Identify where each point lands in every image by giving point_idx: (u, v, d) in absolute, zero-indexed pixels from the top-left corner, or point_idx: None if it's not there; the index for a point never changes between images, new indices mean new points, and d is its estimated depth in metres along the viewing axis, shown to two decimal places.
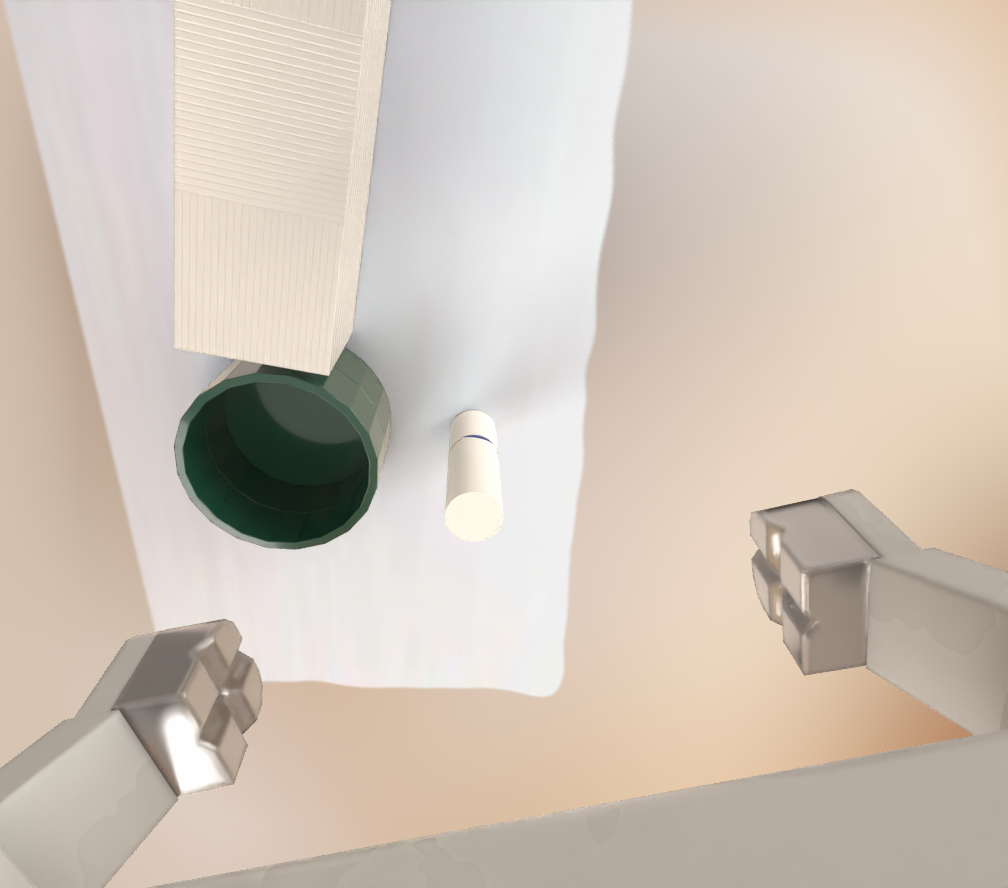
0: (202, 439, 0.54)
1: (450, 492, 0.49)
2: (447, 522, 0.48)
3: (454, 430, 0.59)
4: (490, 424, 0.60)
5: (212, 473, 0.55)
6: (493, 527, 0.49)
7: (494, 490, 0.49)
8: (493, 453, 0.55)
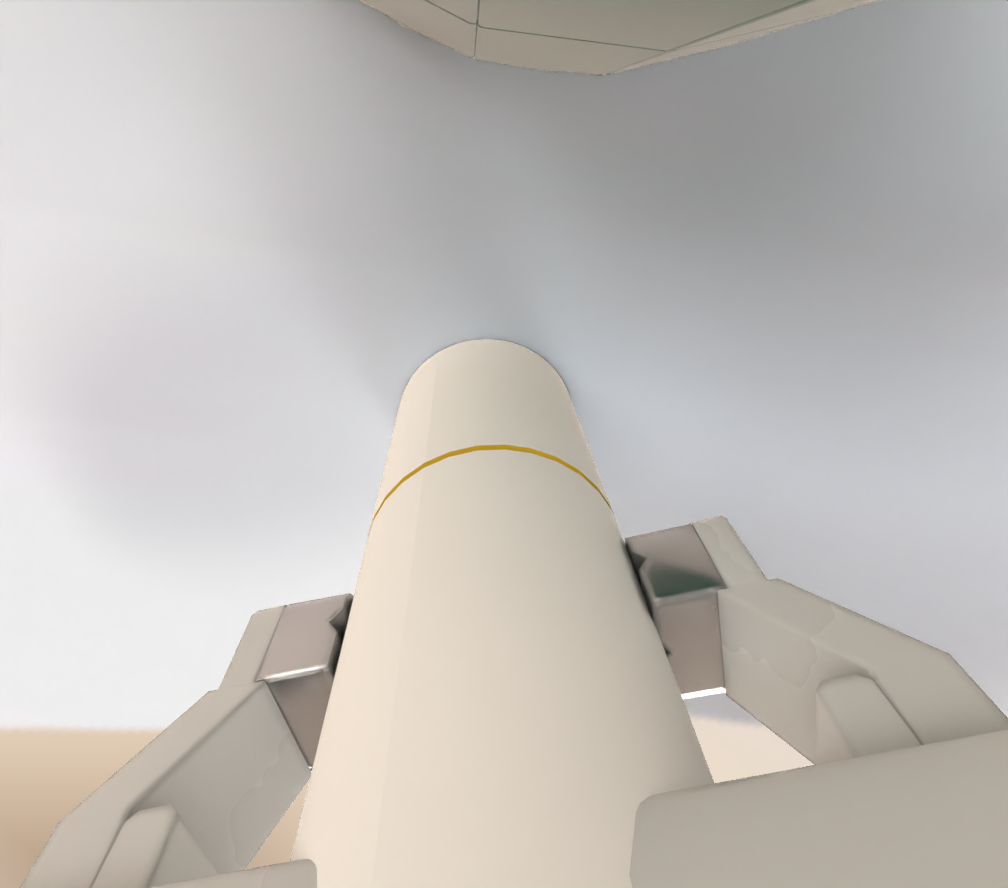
0: None
1: None
2: None
3: (557, 402, 0.13)
4: None
5: None
6: None
7: None
8: None
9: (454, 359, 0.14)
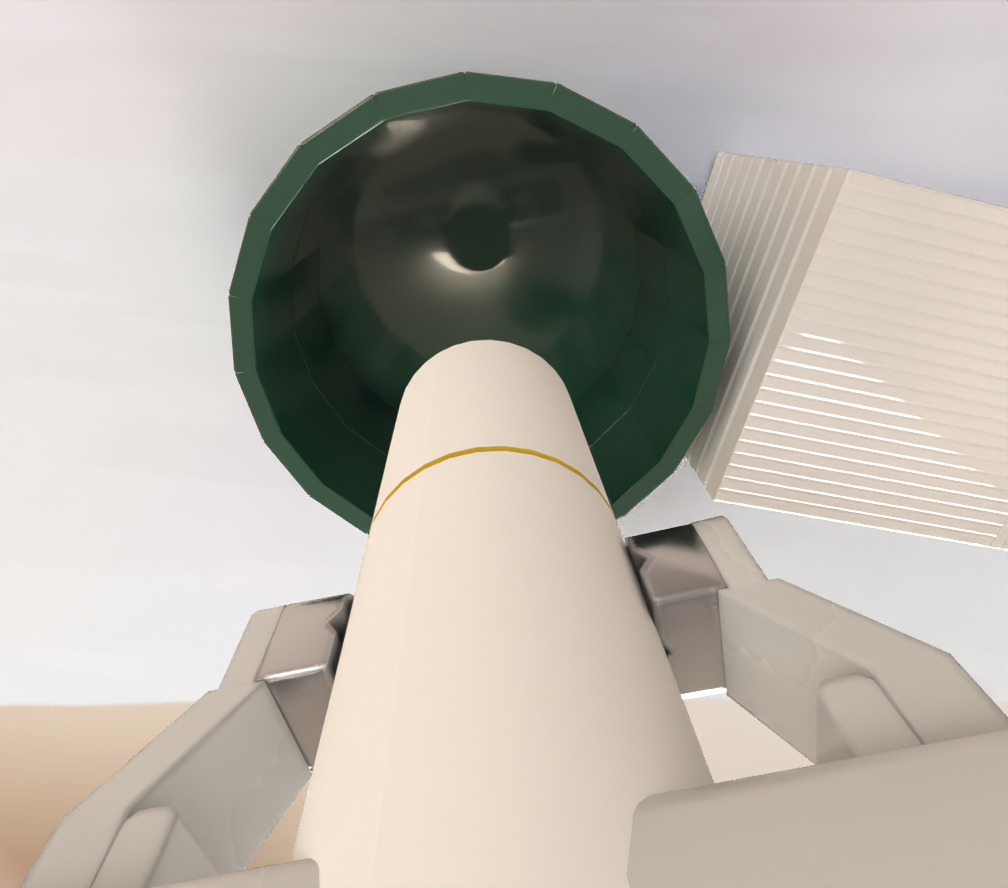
0: None
1: None
2: None
3: (557, 403, 0.13)
4: None
5: (405, 119, 0.21)
6: None
7: None
8: None
9: (454, 360, 0.14)
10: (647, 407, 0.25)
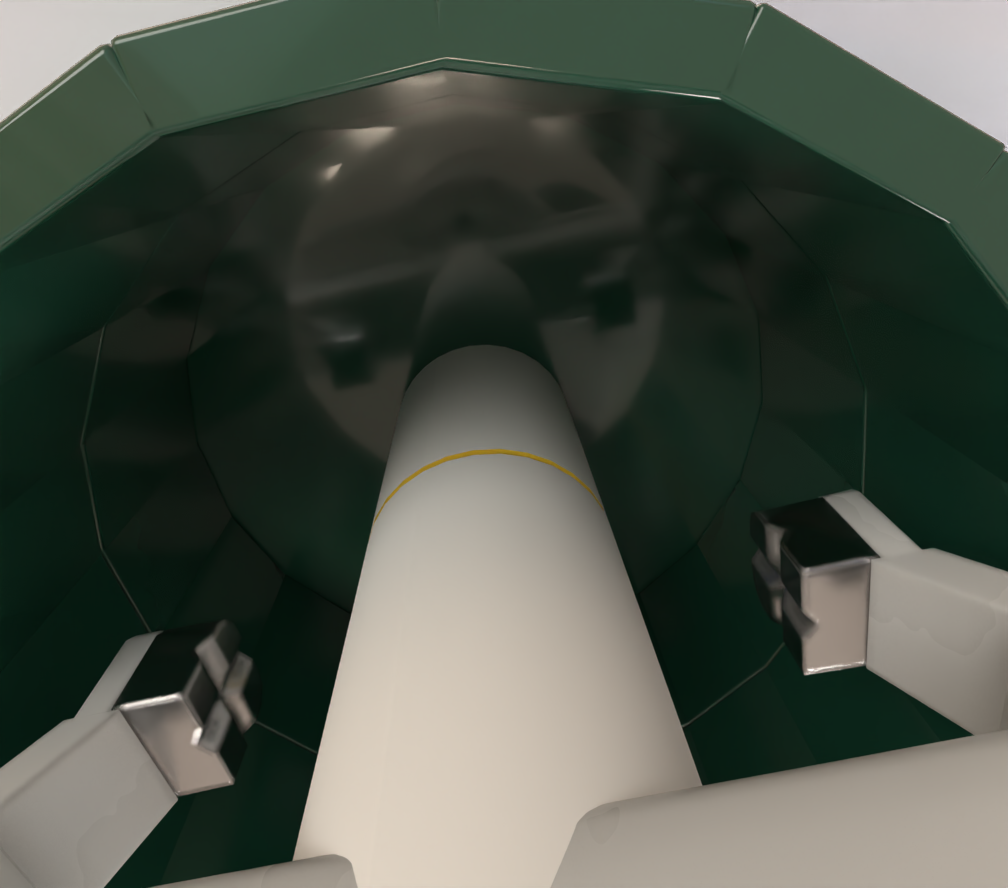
0: (541, 101, 0.08)
1: None
2: None
3: (553, 407, 0.13)
4: None
5: (296, 127, 0.08)
6: None
7: None
8: None
9: (452, 365, 0.15)
10: (817, 697, 0.13)
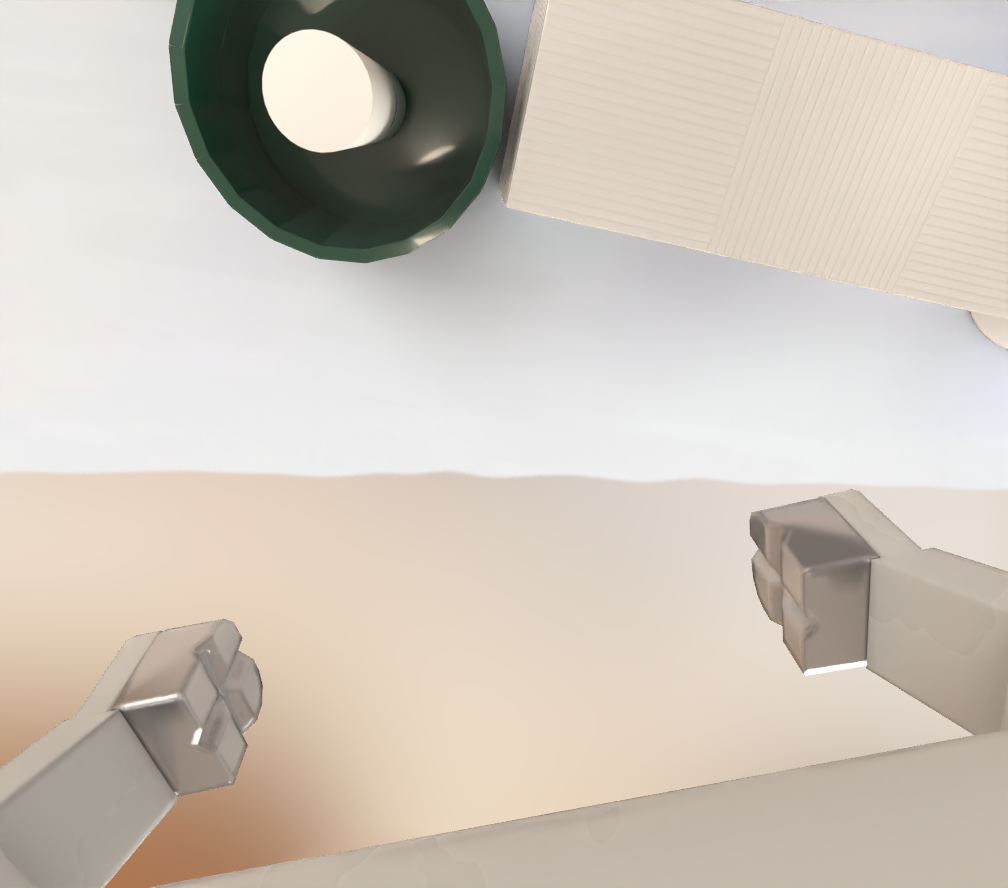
0: None
1: (351, 46, 0.27)
2: (300, 34, 0.25)
3: (385, 68, 0.36)
4: (392, 133, 0.39)
5: None
6: (298, 132, 0.26)
7: (364, 136, 0.28)
8: (379, 136, 0.34)
9: None
10: (475, 164, 0.35)
